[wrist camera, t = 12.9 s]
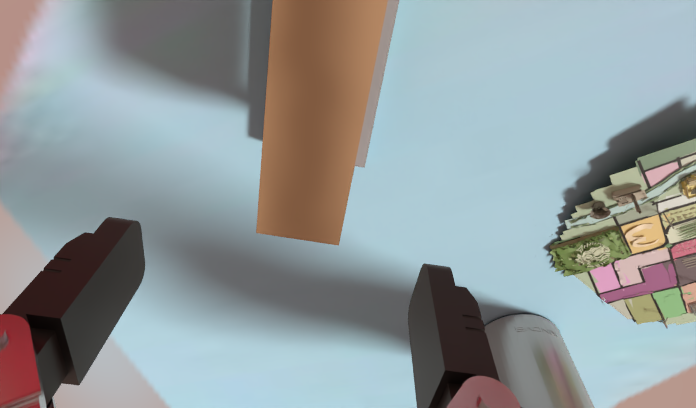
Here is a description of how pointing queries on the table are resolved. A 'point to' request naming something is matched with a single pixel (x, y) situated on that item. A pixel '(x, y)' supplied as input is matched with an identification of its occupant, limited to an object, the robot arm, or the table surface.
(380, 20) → the brown wooden block
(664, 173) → the city model
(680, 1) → the table surface
